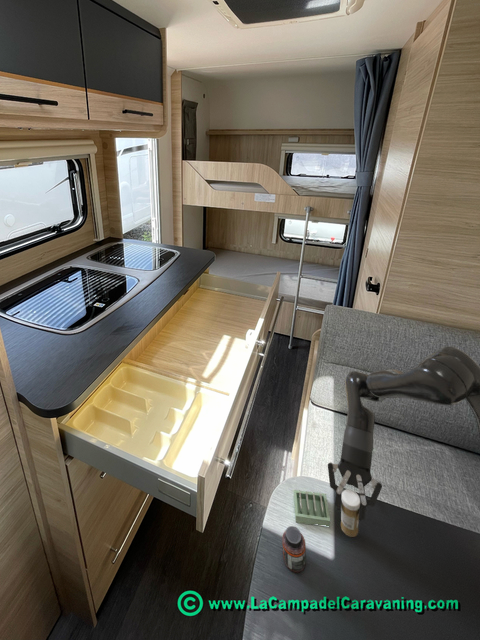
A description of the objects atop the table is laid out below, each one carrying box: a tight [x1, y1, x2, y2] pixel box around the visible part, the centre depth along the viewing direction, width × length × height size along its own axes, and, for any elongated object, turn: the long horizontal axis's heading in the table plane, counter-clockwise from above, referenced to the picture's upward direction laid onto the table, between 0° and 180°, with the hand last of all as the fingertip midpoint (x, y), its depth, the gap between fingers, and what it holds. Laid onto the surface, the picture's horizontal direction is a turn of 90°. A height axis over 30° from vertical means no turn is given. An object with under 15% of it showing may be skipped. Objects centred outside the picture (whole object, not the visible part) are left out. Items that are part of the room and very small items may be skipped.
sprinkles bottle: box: [340, 488, 361, 538], centre depth 89 cm, size 5×5×13 cm
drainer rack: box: [299, 489, 324, 517], centre depth 98 cm, size 6×5×4 cm
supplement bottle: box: [281, 525, 307, 573], centre depth 86 cm, size 6×6×11 cm
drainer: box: [293, 489, 331, 528], centre depth 98 cm, size 10×8×3 cm
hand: (349, 514), depth 87 cm, fingers closed on sprinkles bottle, 4 cm apart
